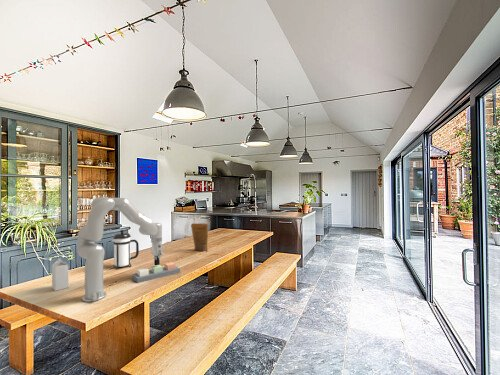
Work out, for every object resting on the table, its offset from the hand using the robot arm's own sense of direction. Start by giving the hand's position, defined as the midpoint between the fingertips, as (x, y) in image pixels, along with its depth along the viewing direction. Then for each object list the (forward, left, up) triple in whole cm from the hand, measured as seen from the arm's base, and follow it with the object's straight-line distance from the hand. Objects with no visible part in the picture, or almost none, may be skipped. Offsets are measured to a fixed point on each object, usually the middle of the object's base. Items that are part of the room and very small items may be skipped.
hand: (157, 264), depth 189 cm
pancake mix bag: (+41, -60, -8) cm, 73 cm away
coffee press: (+40, +12, -8) cm, 43 cm away
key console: (0, 0, -8) cm, 8 cm away
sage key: (0, 0, -6) cm, 6 cm away
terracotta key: (0, -10, -6) cm, 12 cm away
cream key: (0, +10, -6) cm, 12 cm away
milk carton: (+19, +56, -8) cm, 60 cm away
